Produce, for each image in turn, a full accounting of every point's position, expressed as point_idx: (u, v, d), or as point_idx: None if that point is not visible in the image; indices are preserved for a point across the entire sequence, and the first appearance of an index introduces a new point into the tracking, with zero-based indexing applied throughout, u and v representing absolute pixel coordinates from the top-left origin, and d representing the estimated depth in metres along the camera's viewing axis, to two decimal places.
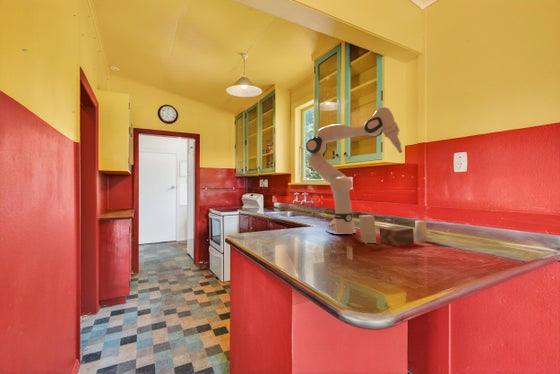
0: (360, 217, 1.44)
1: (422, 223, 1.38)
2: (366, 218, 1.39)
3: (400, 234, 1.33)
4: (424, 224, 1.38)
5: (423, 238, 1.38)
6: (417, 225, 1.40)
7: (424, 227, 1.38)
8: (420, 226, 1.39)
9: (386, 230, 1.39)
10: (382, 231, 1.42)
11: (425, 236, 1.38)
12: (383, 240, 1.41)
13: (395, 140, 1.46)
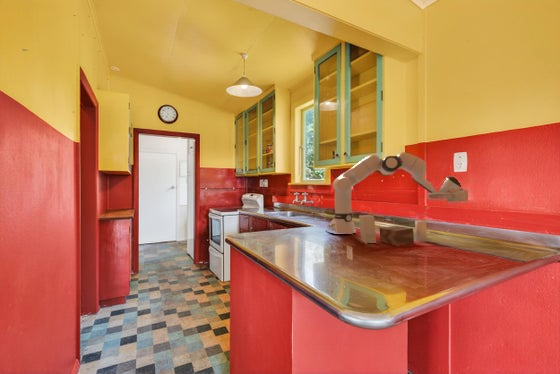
0: (360, 217, 1.44)
1: (422, 223, 1.38)
2: (366, 218, 1.39)
3: (400, 234, 1.33)
4: (424, 224, 1.38)
5: (423, 238, 1.38)
6: (417, 225, 1.40)
7: (424, 227, 1.38)
8: (420, 226, 1.39)
9: (386, 230, 1.39)
10: (382, 231, 1.42)
11: (425, 236, 1.38)
12: (383, 240, 1.41)
13: (461, 196, 1.38)
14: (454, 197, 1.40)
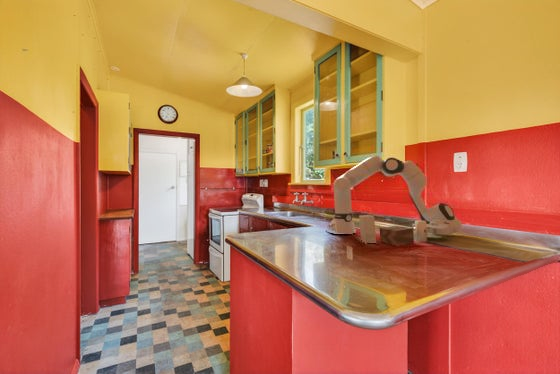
0: (360, 217, 1.44)
1: (422, 223, 1.38)
2: (366, 218, 1.39)
3: (400, 234, 1.33)
4: (424, 224, 1.38)
5: (423, 238, 1.38)
6: (417, 225, 1.40)
7: (424, 227, 1.38)
8: (420, 226, 1.39)
9: (386, 230, 1.39)
10: (382, 231, 1.42)
11: (425, 236, 1.38)
12: (383, 240, 1.41)
13: (444, 232, 1.33)
14: (438, 232, 1.35)
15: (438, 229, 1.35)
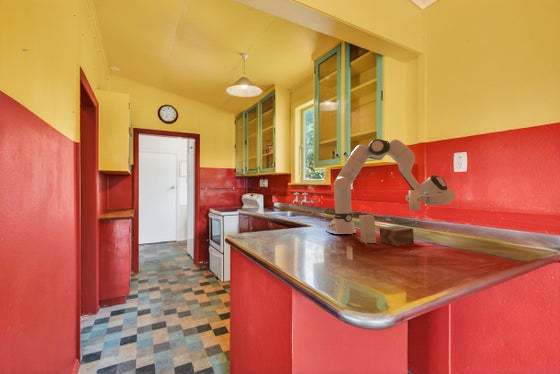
0: (360, 217, 1.44)
1: (415, 192, 1.38)
2: (366, 218, 1.39)
3: (400, 234, 1.33)
4: (417, 193, 1.38)
5: (416, 207, 1.38)
6: (410, 194, 1.40)
7: (417, 196, 1.38)
8: (413, 195, 1.39)
9: (386, 230, 1.39)
10: (382, 231, 1.42)
11: (418, 205, 1.38)
12: (383, 240, 1.41)
13: (437, 199, 1.33)
14: (431, 200, 1.35)
15: (431, 197, 1.35)
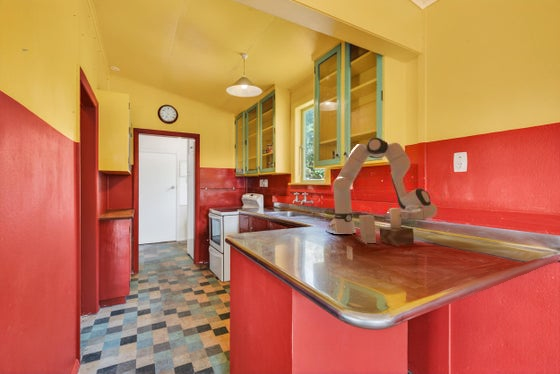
0: (360, 217, 1.44)
1: (396, 210, 1.37)
2: (366, 218, 1.39)
3: (400, 234, 1.33)
4: (398, 211, 1.37)
5: (397, 225, 1.37)
6: (391, 212, 1.39)
7: (398, 214, 1.37)
8: (394, 213, 1.38)
9: (386, 230, 1.39)
10: (382, 231, 1.42)
11: (399, 223, 1.37)
12: (383, 240, 1.41)
13: (417, 216, 1.32)
14: (411, 216, 1.34)
15: (411, 213, 1.34)
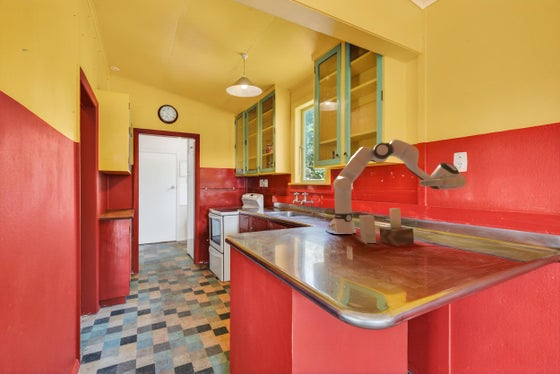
0: (360, 217, 1.44)
1: (396, 210, 1.37)
2: (366, 218, 1.39)
3: (400, 234, 1.33)
4: (398, 211, 1.37)
5: (397, 225, 1.37)
6: (391, 212, 1.39)
7: (398, 214, 1.37)
8: (394, 213, 1.38)
9: (386, 230, 1.39)
10: (382, 231, 1.42)
11: (399, 223, 1.37)
12: (383, 240, 1.41)
13: (452, 182, 1.36)
14: (446, 183, 1.38)
15: (446, 180, 1.38)
